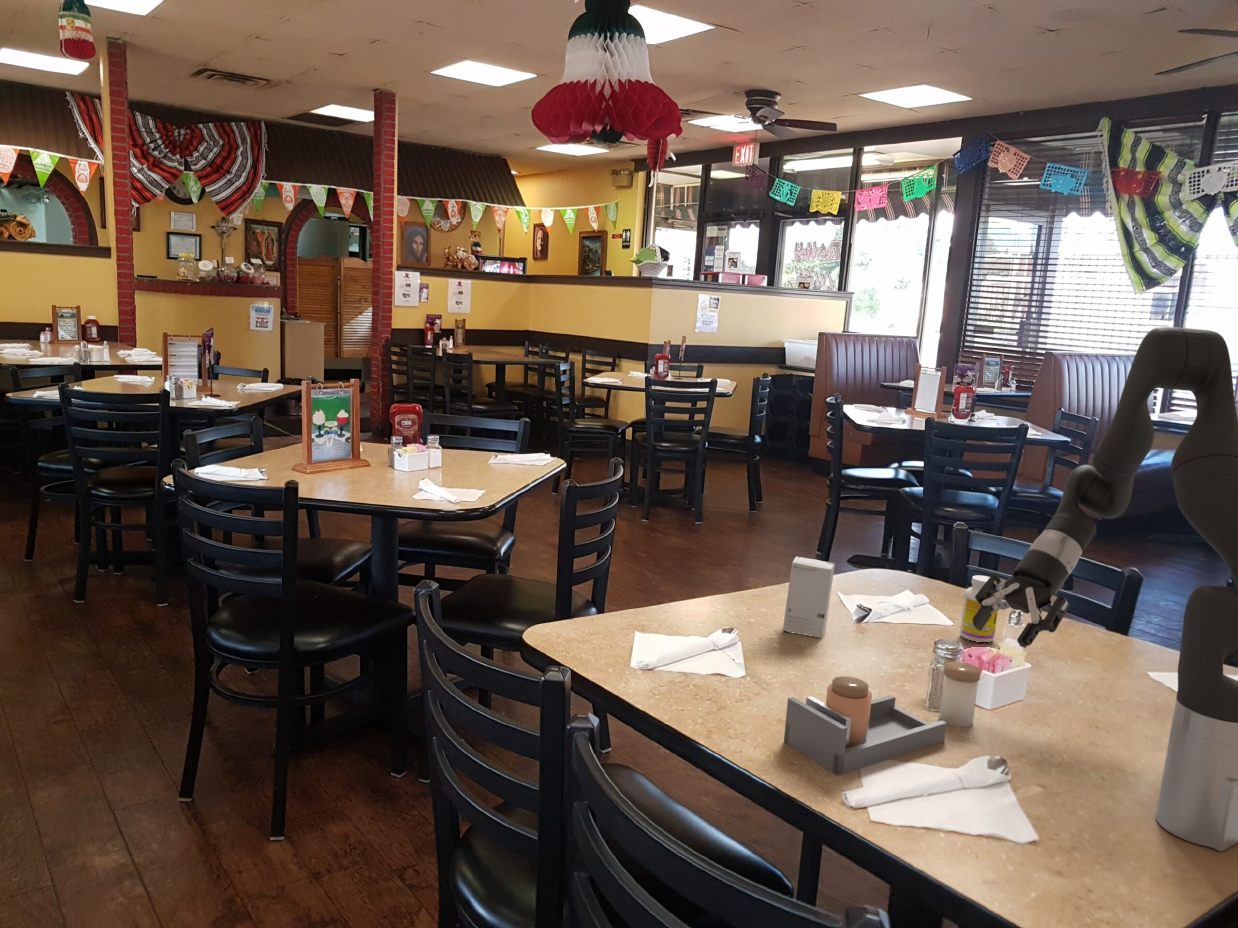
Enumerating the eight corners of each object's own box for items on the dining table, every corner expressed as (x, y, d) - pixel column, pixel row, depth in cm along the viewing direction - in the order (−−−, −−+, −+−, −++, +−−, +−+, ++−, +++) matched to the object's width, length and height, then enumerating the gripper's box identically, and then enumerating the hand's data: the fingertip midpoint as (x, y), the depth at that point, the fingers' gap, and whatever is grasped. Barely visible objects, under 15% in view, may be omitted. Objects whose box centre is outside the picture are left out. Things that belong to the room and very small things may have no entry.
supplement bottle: (996, 645, 187) (1004, 585, 185) (962, 641, 189) (970, 581, 186) (990, 634, 194) (998, 575, 191) (957, 630, 195) (964, 572, 193)
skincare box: (782, 632, 188) (789, 562, 185) (787, 623, 194) (794, 554, 191) (824, 639, 185) (831, 568, 183) (828, 630, 191) (835, 560, 188)
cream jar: (981, 723, 151) (988, 671, 149) (959, 730, 148) (966, 677, 146) (952, 709, 156) (959, 659, 154) (930, 716, 153) (937, 664, 151)
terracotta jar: (874, 752, 137) (882, 687, 135) (844, 762, 133) (851, 695, 132) (843, 734, 142) (849, 671, 140) (812, 743, 139) (819, 679, 137)
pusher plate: (846, 763, 132) (851, 717, 131) (836, 766, 131) (841, 720, 130) (807, 739, 139) (811, 695, 138) (797, 742, 138) (801, 698, 137)
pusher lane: (943, 746, 142) (949, 698, 141) (836, 781, 130) (842, 728, 128) (888, 717, 151) (893, 671, 150) (783, 747, 139) (787, 697, 137)
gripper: (1004, 538, 162) (954, 609, 158) (1081, 560, 150) (1028, 637, 146) (1018, 564, 166) (970, 634, 162) (1094, 587, 154) (1044, 663, 150)
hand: (998, 635), depth 154 cm, fingers open, 8 cm apart
